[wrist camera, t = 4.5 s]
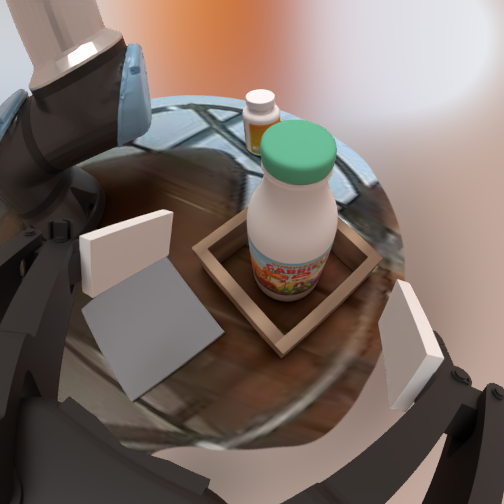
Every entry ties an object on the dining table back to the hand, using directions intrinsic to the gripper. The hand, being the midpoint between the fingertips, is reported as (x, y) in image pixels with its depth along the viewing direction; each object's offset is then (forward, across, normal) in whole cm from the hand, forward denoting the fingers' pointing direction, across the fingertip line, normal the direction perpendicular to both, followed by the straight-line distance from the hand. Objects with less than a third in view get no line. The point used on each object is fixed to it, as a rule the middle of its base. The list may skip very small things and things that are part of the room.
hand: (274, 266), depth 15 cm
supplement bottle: (+31, -10, +6) cm, 33 cm away
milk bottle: (+17, -1, -7) cm, 19 cm away
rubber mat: (+9, -14, -16) cm, 23 cm away
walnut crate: (+17, -1, -7) cm, 18 cm away
